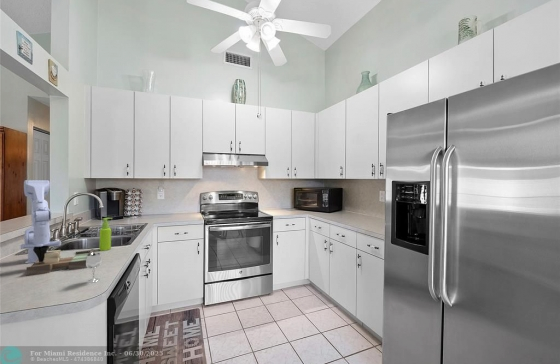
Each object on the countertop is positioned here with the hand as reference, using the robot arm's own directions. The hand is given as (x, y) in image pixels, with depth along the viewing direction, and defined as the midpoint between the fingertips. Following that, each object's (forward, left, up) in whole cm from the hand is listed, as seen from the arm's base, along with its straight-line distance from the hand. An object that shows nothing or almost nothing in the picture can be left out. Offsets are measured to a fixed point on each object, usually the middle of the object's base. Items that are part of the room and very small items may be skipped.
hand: (41, 261), depth 123 cm
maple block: (0, +4, -1) cm, 4 cm away
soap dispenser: (-23, +25, -3) cm, 34 cm away
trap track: (0, +8, -3) cm, 9 cm away
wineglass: (+30, +24, -3) cm, 39 cm away
